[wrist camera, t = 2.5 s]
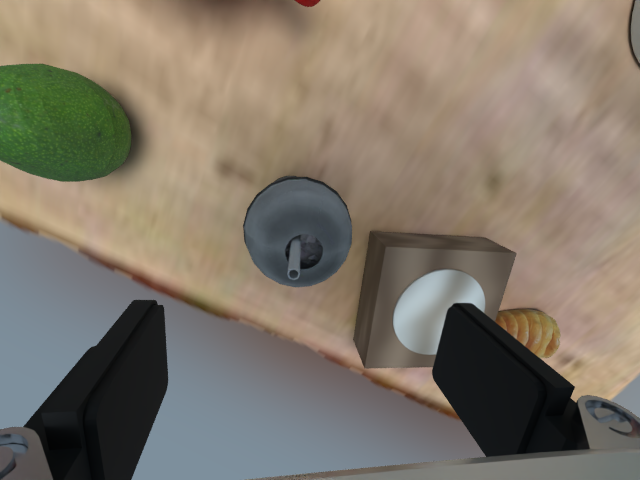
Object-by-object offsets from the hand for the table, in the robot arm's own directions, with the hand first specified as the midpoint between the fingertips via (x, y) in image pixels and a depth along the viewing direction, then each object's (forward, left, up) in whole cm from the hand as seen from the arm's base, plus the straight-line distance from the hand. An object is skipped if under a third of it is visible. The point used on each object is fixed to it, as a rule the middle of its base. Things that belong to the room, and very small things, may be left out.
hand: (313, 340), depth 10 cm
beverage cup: (0, 0, -23) cm, 23 cm away
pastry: (-32, +15, -23) cm, 42 cm away
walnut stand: (-16, +10, -23) cm, 30 cm away
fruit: (+17, -5, -23) cm, 29 cm away
